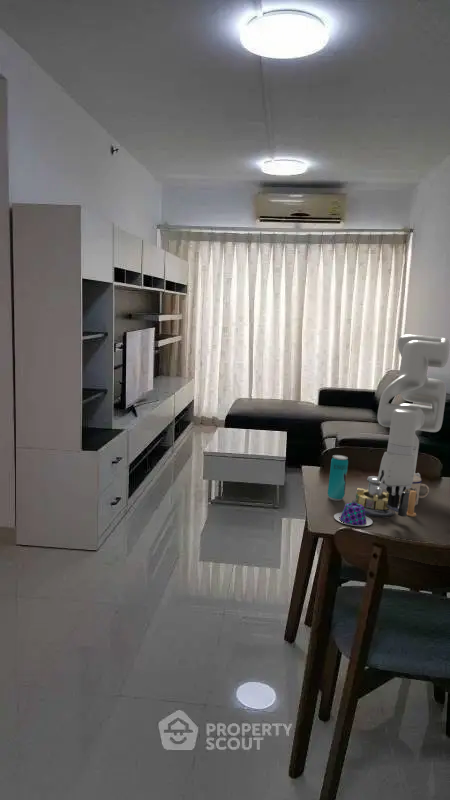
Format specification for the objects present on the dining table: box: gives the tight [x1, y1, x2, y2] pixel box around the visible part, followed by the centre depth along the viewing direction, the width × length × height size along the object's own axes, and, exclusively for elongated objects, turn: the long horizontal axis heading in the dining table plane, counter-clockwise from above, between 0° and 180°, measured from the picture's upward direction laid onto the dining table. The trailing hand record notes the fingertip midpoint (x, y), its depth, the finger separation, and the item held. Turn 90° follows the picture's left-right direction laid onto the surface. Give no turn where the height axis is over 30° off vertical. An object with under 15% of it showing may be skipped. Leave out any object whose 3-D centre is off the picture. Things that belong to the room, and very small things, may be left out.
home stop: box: [406, 490, 417, 517], centre depth 201 cm, size 4×4×8 cm
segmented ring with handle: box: [355, 487, 409, 518], centre depth 199 cm, size 19×12×8 cm, turn 33°
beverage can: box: [327, 454, 349, 502], centre depth 211 cm, size 6×6×15 cm
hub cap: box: [351, 475, 396, 519], centre depth 202 cm, size 14×14×11 cm
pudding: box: [333, 502, 374, 527], centre depth 192 cm, size 12×12×5 cm
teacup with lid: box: [399, 474, 430, 506], centre depth 213 cm, size 12×9×12 cm
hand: (392, 506), depth 191 cm, fingers closed
